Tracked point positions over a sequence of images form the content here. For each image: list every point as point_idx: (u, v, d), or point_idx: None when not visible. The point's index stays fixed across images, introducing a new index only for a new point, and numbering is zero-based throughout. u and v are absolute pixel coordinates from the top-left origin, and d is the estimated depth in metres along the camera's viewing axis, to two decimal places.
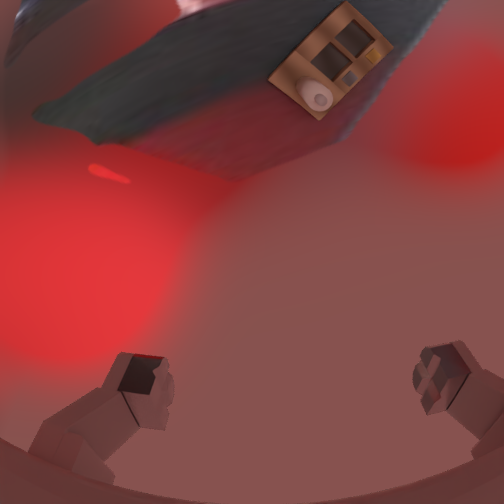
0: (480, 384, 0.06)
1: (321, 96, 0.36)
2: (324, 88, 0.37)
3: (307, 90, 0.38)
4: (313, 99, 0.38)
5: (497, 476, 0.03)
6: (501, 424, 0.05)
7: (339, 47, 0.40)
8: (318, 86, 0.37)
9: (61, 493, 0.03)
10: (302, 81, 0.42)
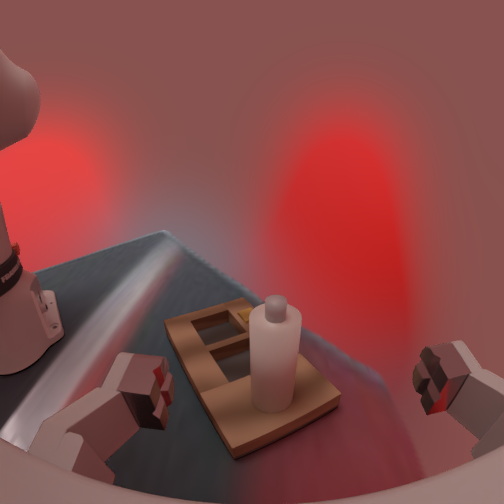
0: (480, 384, 0.06)
1: (267, 300, 0.22)
2: (258, 307, 0.23)
3: (254, 333, 0.22)
4: (273, 324, 0.22)
5: (497, 476, 0.03)
6: (501, 424, 0.05)
7: (222, 344, 0.34)
8: None
9: (61, 493, 0.03)
10: (252, 384, 0.25)
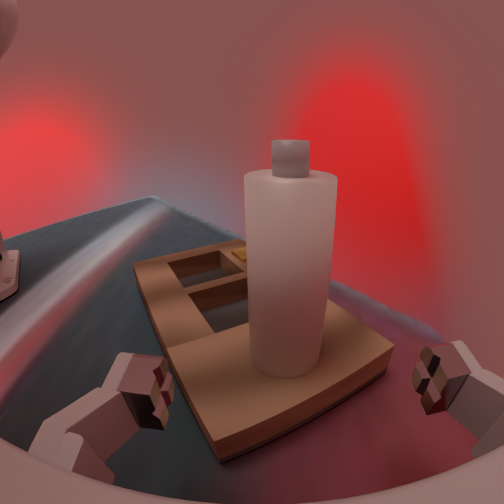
0: (480, 384, 0.06)
1: None
2: (260, 170, 0.14)
3: (253, 196, 0.12)
4: (289, 178, 0.12)
5: (497, 476, 0.03)
6: (501, 424, 0.05)
7: (208, 285, 0.24)
8: None
9: (61, 493, 0.03)
10: (251, 323, 0.15)
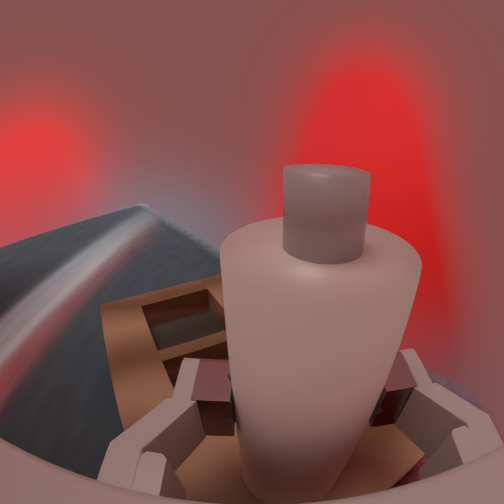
0: (427, 399, 0.06)
1: None
2: (256, 225, 0.07)
3: (239, 311, 0.05)
4: (324, 266, 0.05)
5: (497, 476, 0.03)
6: (446, 447, 0.05)
7: (189, 348, 0.17)
8: None
9: (61, 493, 0.03)
10: (242, 458, 0.08)
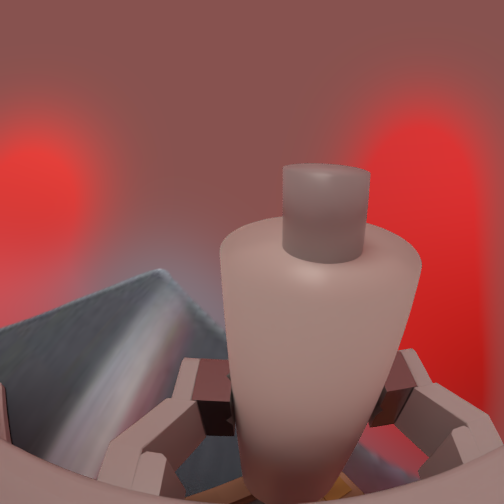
0: (427, 399, 0.06)
1: None
2: (256, 224, 0.07)
3: (239, 310, 0.05)
4: (324, 265, 0.05)
5: (497, 476, 0.03)
6: (446, 447, 0.05)
7: None
8: None
9: (61, 493, 0.03)
10: (242, 458, 0.08)
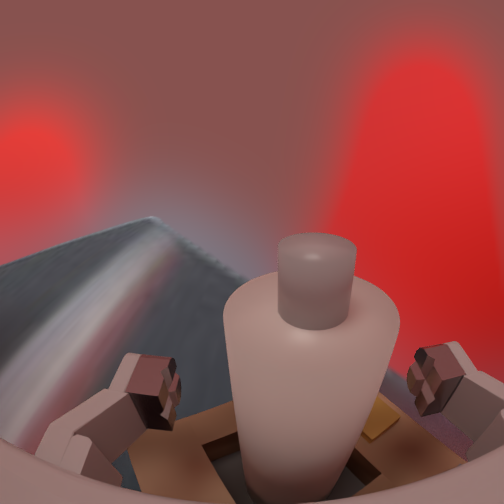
0: (475, 386, 0.06)
1: (285, 246, 0.06)
2: (255, 283, 0.08)
3: (241, 369, 0.06)
4: (312, 333, 0.06)
5: (497, 476, 0.03)
6: (496, 427, 0.05)
7: None
8: None
9: (61, 493, 0.03)
10: (245, 473, 0.09)
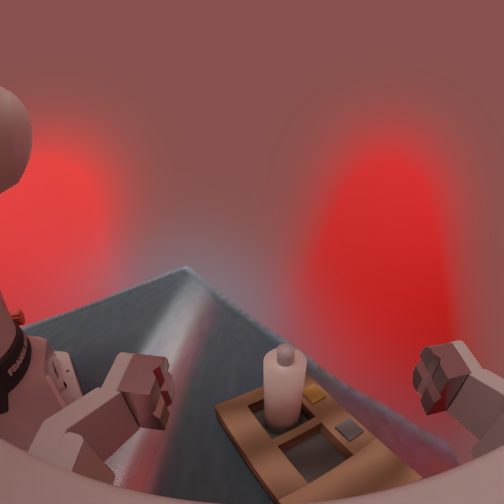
0: (480, 384, 0.06)
1: (278, 348, 0.26)
2: (270, 352, 0.27)
3: (268, 375, 0.25)
4: (284, 367, 0.25)
5: (497, 476, 0.03)
6: (501, 424, 0.05)
7: (291, 436, 0.26)
8: (265, 359, 0.27)
9: (61, 493, 0.03)
10: (265, 412, 0.28)
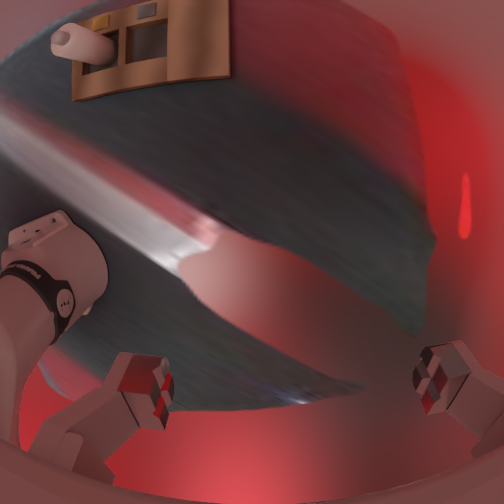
0: (480, 384, 0.06)
1: (53, 42, 0.19)
2: (52, 48, 0.20)
3: (69, 54, 0.21)
4: (69, 41, 0.20)
5: (497, 476, 0.03)
6: (501, 424, 0.05)
7: (123, 51, 0.28)
8: (55, 54, 0.21)
9: (61, 493, 0.03)
10: (94, 63, 0.27)
